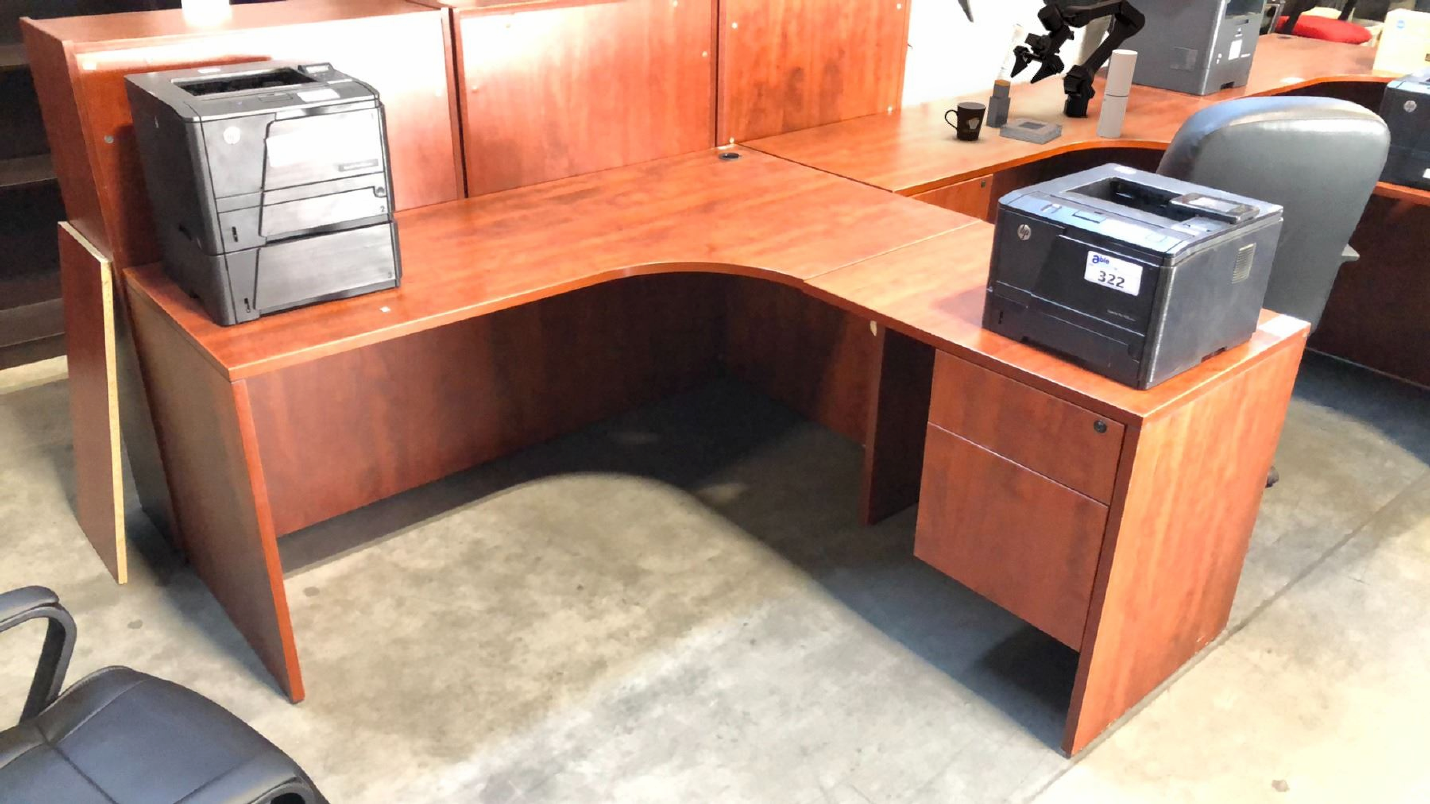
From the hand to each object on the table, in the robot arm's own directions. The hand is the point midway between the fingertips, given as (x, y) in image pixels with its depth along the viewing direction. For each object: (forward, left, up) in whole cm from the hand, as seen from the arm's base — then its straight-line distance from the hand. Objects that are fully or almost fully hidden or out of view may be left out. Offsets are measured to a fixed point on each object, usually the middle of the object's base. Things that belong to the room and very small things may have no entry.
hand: (1020, 80), depth 329 cm
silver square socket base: (-1, +14, -14) cm, 20 cm away
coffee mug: (+21, +18, -14) cm, 31 cm away
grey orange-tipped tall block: (+7, +3, -14) cm, 16 cm away
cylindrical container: (-26, +12, -14) cm, 32 cm away
